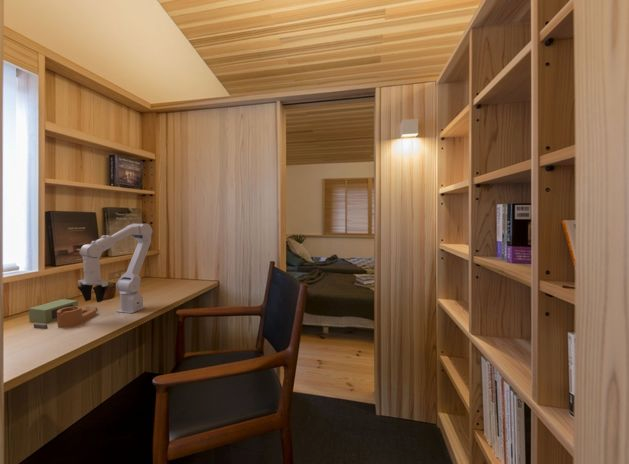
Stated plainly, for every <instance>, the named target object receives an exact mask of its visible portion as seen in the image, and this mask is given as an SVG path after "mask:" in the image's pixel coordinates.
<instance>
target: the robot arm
mask: <svg viewBox="0 0 629 464" xmlns="http://www.w3.org/2000/svg"><path fill="white" fill-rule="evenodd" d="M153 232H154V230H153V229H152V227H151V225H150V224H149V223H134V222H133V223H131V224H128V225H126V226H125V227H123V228H122V229H120V230H119V231H117V232H115V233H114V234H112V235H104V234H103V235H101V236H100V238H98V239H95V240H92V241H91V242H90V243H87V244H84V245H82V246H81V248H80V250H79V251H78V252H79V255H80V256H81V258H82V265H83V279H79V280H78V279H77V285H78V286H77V289H78V290H79V292H80V293H81V294H82V296H83V299H84V301H85V302H88V301H91V300H92V289H93V291H94V294H95V300H96V302H97V303H101V302H103V301H104V297H105V294H106V291H107V289H108V288H109V282H108V280H107V281H106V280H103V279H101V265H100V264H101V263H100V257H101V256H102V254H103V253H104V252H105V251H107V250H109V249H111V248H112V247H114V246H115V245H116V242H119V241H120V240H123V239H125V238H127V237H128V236H132V237H133V238H134V239H135V240H136V242H137V245H136V247H135V250H134V252H133V254H132V257H131V260H130V262H129V264H128V267H127V270H126V271H125V272H124V273H123V274H121V275H120V278H119V279H118V280H117V281H116V283H115V288H116V290H117V291H118V293H119V301H120V302H119V303H120V308H119V309H117V310H116V312H117V313H126V314H127V313H128V314H133V313H135V312H139V311H141V310H144V309H145V306H144V299H143V298H144V297H143V294H141V293H139V290H140V288H141V280H142V278H141V276H140V272H141V270H142V266H143V264H144V262H145V259H146V256H147V253H148V251H149V248H150V245H151V243H152V234H153ZM93 286H94V287H93Z"/></svg>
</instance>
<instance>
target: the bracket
mask: <svg viewBox="0 0 629 464" xmlns="http://www.w3.org/2000/svg"><path fill="white" fill-rule="evenodd" d="M96 315H97V311H96V308H83V307H82V306H81V305H78V306H76V307H74V308H73V306H72V307H66V308H62V309H59V310H58V311H57V320H56V322H57V327H58V328H59V329H67V328H68V329H69V328H72V327H76V326H80V325H81V324H83V323H85V322H86V321H88V320H90V319H92V318H93V317H95V316H96Z"/></svg>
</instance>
